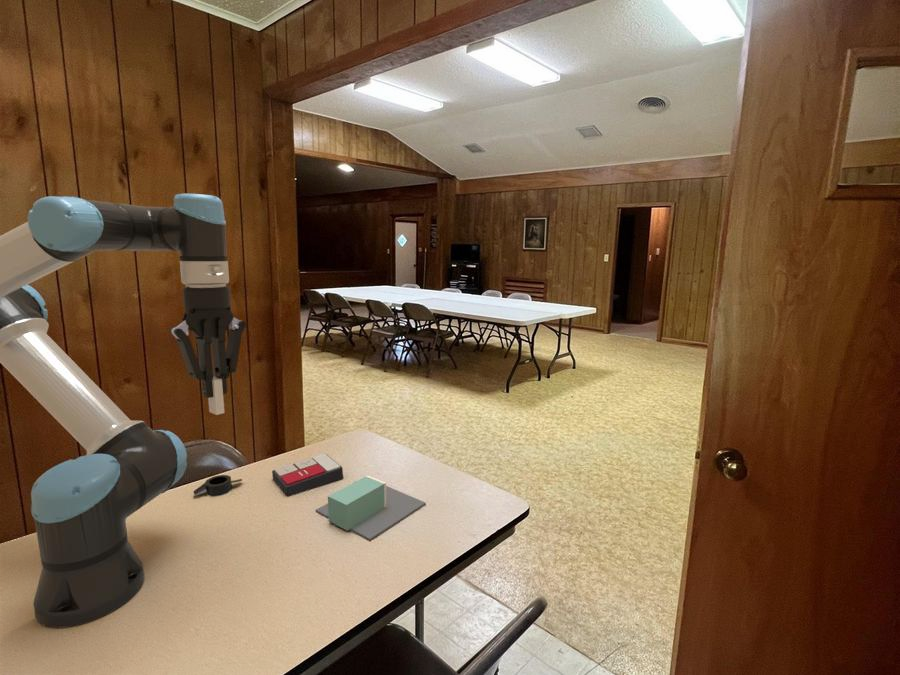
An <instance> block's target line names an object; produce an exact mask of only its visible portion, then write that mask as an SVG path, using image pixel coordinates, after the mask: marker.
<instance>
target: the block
mask: <svg viewBox="0 0 900 675" xmlns="http://www.w3.org/2000/svg"><path fill="white" fill-rule="evenodd" d="M386 486H387V482H385V481H384V480H381V479H377V478H375V477H373V476H371V475H368V474H367V475H366V476H364V477H362V478H360V479H358V480H356V481H354V482H352V483H351V484H348V485H347V486H345V487H342V488H341V489H338V490H337V491H334V492H333V493H331V494H329V495H328V496H327V504H328V514H329V519H328V522H330V523H331V524H333V525H335V526H338V527H339V528H342V529H343V530H345V531H350V530H349V529H351V528H353V527H354V526H356V525H357V524H359V523H361V522H362V521H364V520H365V519H367V518H369V517H370V516H372V515H373V514H375V513H377V512H378V511H380V510H382V509H383V508H385V507H386Z"/></svg>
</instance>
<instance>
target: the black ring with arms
mask: <svg viewBox="0 0 900 675" xmlns="http://www.w3.org/2000/svg"><path fill="white" fill-rule="evenodd" d="M242 481H243V479H242V478H239V479H234V480H232V478H231V476H230V475H228V474H220V475H215V476H212V477H209V478H207V479H206V480H205V482H204V483H202V484H201V485H200V486H199V487H198V488H196V489H194V490H193V494H194V496H195V497H196V496H198V495H201V494H204V493H205V494H206V495H207V496H209V497H219V496H223V495H226V494H228V493H229V492H230V491H232V490H233V487H232V484H233V483H238V482H242Z"/></svg>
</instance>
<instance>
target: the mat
mask: <svg viewBox="0 0 900 675" xmlns="http://www.w3.org/2000/svg"><path fill="white" fill-rule="evenodd" d="M426 505H427V504H426V502H425V501H423V500H420V499H418V498H416V497H413V496H411V495H409V494H407V493H404V492H402V491H399V490H398V489H394V488H393V487H389V486H388V485H386V507H385V508H383V509H382V510H380V511H378V512H377V513H375V514H373V515H372V516H370V517H369V518H367V519H365V520H364V521H362V522H361V523H359V524H357V525H356V526H354V527H353V528H351V529H349V530H348V531H350V532H352V533H354V534H356V535H358V536H360V537H362V538H363V539H365V540H367V541H369V542H371V541H373V540H374V539H376V538H377V537H379V536H380V535H382V534H384V532H386V531H388V530H389V529H391V528H393V527H394V526H395V525H397V524H398V523H400V522H402V521H404V520H405V519H406V518H407V517H409V516H411V515H412V514H414V513H415V512H417V511H418V510H420V509H422V508H423V507H424V506H426ZM315 513H317V514H320V515H321V516H322V517H324V518H327V519H328V520H329V514H328V503H326V504H324V505H322V506H320V507H318V508H316V509H315Z"/></svg>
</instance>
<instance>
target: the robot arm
mask: <svg viewBox="0 0 900 675" xmlns="http://www.w3.org/2000/svg"><path fill="white" fill-rule="evenodd" d="M32 204H33V205H32V208H31V209H30V210H29V211H28V215H27V221H26V222H25V223H22V224H20V225H18V226H17V227H15V228H13V229H11V230H9V231H7V232H5V233H3V234H1V235H0V364H1V365H2V366H3V367H4V368H5V369H6V370H7V371H8V372H9V373H10V374H11V375H12V377H14V378H15V379H16V380H17V381H18V382H19V383H20V384H21V386H23V388H24V389H26V390H27V391H28V393H29V394H30V395H31V396H32V397H33V398H34V399H35V400H36V401H37V402H38V403H39V404H40V405H41V407H43V408H44V409H45V410H46V411H47V412H48V413H49V414H50V415H51V416H52V417H53V418H54V419H55V420H56V421H57V422H58V423H59V424H60V425H61V426H62V427H63V428H64V429H65V430H66V431H67V432H68V433H69V434H70V435H71V436H72V437H73V438H74V439H75V440H76V442H78V443H79V445H81V447H82V448H84V450H86V455H82V456H78V457H77V458H75V459H68V460H65V461H63V462H61V463H58V464H57V465H55V466H53V467H51V468H50V469H48V470H46V471H45V472H44V473H42V474H41V475H40V476H39V477H38V478H37V479H36V481H35V482H33V485H32V488H31V491H30V492H31V493H30V496H31V497H30V498H31V506H30V508H31V509H30V512H31V516H32V517H33V521H34V522H33V523H34V525H35V526H34V527H35V532H36V538H37V543H38V549H39V556H40V562H41V571H40V576H39V579H38V584H37V588H36V591H35V596H34V599H33V610H34V616H35V620H36V621H37V623H39V624H41V625H42V626H45V627H49V628H67V627H73V626H77V625H82V624H85V623H89V622H92V621H94V620H96V619H99V618H101V617H104V616H106V615H108V614H110V613H112V612H113V611H115V610H117V609H118V608H120V607H122V606H124V605H125V604H126V603H127V602H129V601H130V600H131V599H132V598H133V597H135V596H136V594H138V592H139V591H140V589H141V588H142V586H143V584H144V583H145V570H144V569H145V568H144V564H143V562H142V559H140V557H139V555H138V554H137V552H136V551H135V549H134V547H133V546H132V545H131V543H130V541H129V538H128V531H127V523H126V520H127V518H129V517H130V516H132V514H134V513H135V512H138V510H139V509H142V508H143V507H144V506H145V505H147V504H148V503H150V502H151V501H153V500H154V499H156V498H157V497H159V495H161V494H164V493H166V492H167V491H168V490H170V489H171V488H172V487H173V486H174V485H175V484H176V483H177V482H179V480H180V479H181V478H182V477H183V476H184V474H185V472H186V469H187V466H188V465H187V464H188V462H187V458H188V454H187V450H186V447H185V445H184V443H183V442H182V440H181V439H180V438H179V436H178V435H176V434H175V433H173V432H172V431H170V430H164V429H156V430H153V429H152V428H151V427H150V426H149V425H148V424H147V423H146V422H145V421H143V420H131V419H130V418H129V417H128V416H127V415H126V414H125V413H124V412H123V411H122V409H120V408H119V406H118V405H117V404H116V403H115V402H113V400H112V399H111V398H110V397H109V396H108V395H107V394H106V393H105V392H104V391H103V390H102V389H101V387H99V386H98V385H97V384H96V383H95V382H94V381H93V380H92V379H91V378H90V377H89V375H88V374H86V372H85V371H84V370H82V368H81V367H80V366H78V364H77V363H76V362H75V361H74V360H72V358H71V357H70V356H69V355H68V354H67V353H66V352H65V351H64V350H63V349H62V348H61V347H60V346H59V344H57V343H56V342H55V341H54V339H52V338H51V336H49V335H48V334H47V333H48V331H49V328H50V326H49V325H50V324H49V322H48V321H47V320H48V316H49V315H48V309H46V308H45V306H46V305H47V304H46V302H45V300H44V298H43V297H42V295H41V294H40V293H39V292H38V291H37V290H36V289H35V288H34V287H32V286H31V285H29V284H31V283H33V282H35V281H37V280H39V279H42V278H43V277H46V276H48V275H49V274H51V273H53V272H56V271H58V270H59V269H61V268H63V267H64V268H65V267H66V266H68V265H70V264H72V263H73V262H76V261H78V260H80V259H83V258H85V257H87V256H88V255H91V254H92V253H95V252H100V251H101V252H103V251H104V252H105V251H106V252H113V251H115V252H118V251H120V252H121V251H122V252H123V251H125V252H126V251H128V252H129V251H130V252H147V251H149V252H160V251H162V252H164V251H165V252H166V251H171V252H178V257H179V268H180V278H181V279H180V281H181V283H182V284H183V285H185V287H183V288H182V300H183V308H184V314H183V316H182V322H181V323H180V324H178V325H177V326H175V327H170V328H169V330H168V332H169V334H170V335H171V336H172V337H173V338H174V339H175V340H176V342H177V344H178V347H179V350H180V353H181V356H182V359H183V361H184V364H185V367H186V370H187V372H188V375H189V376H190V378H193V379H195V380H199V381H200V380H201V385H202V395H203V397H204V398H206V399H208V401H207V402H208V412H209V413H211V414H212V415H213V414H214V415H215V416H218V415H222V414H225V401H224V400H225V399H224V395H226V394H227V393H228V386H227V384H228V383H227V379H229V377H230V374H232V373H236V371H237V368H238V361H239V354H240V348H241V342H242V337H243V336H242V335H243V333H244V330H245V329H246V327H247V322H246V321H245V320H244V321H243V320H240V319H238V318H236V317H235V315H234V313H233V311H232V309H231V306H232V299H231V298H232V297H231V296H232V295H231V288H230V287H229V286H228V285H227V284H229V283H230V275H229V274H230V272H229V261H228V256H227V255H228V254H227V253H228V250H227V236H226V232H227V231H226V225H227V221H226V219H225V218H226V217H225V211H224V204H223V201H222V199H221V198H220V197H217V196H216V195H212V194H201V193H200V194H199V193H178V194H176V195H174V197H173V206H167V207H166V206H165V207H163V206H142V205H136V204H126V203H118V202H108V201H101V200H93V199H85V198H80V197H77V196H51V195H50V196H44V197H41V198H39V199H37V200H36V201H35V202H34V203H32ZM228 329H229V332H228V337H227V336H226V332H227V331H228ZM189 331H190V332H191V333H192V334H193V335H194V337H195V342H196V344H197V356H198V358H197V356H196V353H195V350H194V346H193V343H192V341H191V339H190V337H189V335H190V332H189ZM226 341H227V344H226V343H225V342H226Z"/></svg>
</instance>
